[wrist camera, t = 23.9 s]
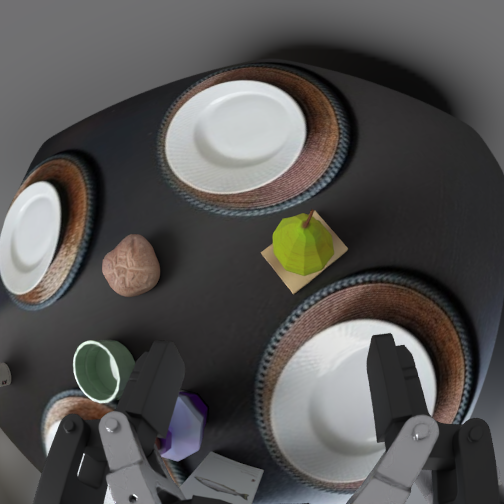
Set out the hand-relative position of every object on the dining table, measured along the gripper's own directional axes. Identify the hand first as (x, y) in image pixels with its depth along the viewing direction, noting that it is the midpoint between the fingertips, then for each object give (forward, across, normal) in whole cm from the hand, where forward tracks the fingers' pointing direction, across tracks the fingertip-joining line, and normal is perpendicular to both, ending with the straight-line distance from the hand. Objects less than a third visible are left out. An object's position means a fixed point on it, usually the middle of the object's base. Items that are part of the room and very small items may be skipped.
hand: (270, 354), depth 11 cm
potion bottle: (+8, +13, +22) cm, 27 cm away
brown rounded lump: (+21, +20, +9) cm, 30 cm away
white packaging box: (+1, +8, +30) cm, 31 cm away
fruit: (+21, -2, +8) cm, 22 cm away
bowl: (+11, +24, +19) cm, 33 cm away
